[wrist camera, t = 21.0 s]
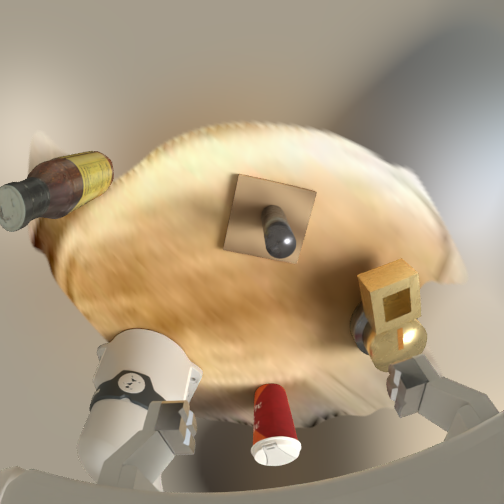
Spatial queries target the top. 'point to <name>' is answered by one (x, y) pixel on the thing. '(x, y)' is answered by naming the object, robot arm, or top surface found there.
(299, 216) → the wooden mat
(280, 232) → the steel cylinder
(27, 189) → the sauce bottle
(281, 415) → the paper cup
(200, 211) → the top surface
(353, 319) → the chuck base
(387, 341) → the chuck collar
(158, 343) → the robot arm
